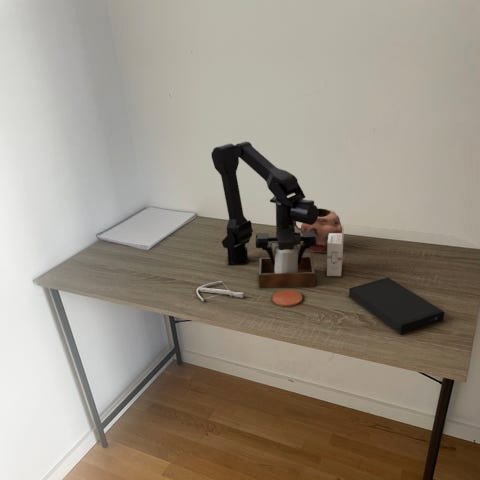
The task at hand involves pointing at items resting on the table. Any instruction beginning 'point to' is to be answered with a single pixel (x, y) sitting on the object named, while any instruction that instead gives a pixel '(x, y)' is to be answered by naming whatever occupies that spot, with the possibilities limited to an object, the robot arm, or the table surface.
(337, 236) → the ink cartridge box
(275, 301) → the coaster
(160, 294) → the table surface
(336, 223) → the decorative planter
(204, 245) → the table surface
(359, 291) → the external hard drive
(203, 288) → the crossbow
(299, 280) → the wooden tray
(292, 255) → the can
